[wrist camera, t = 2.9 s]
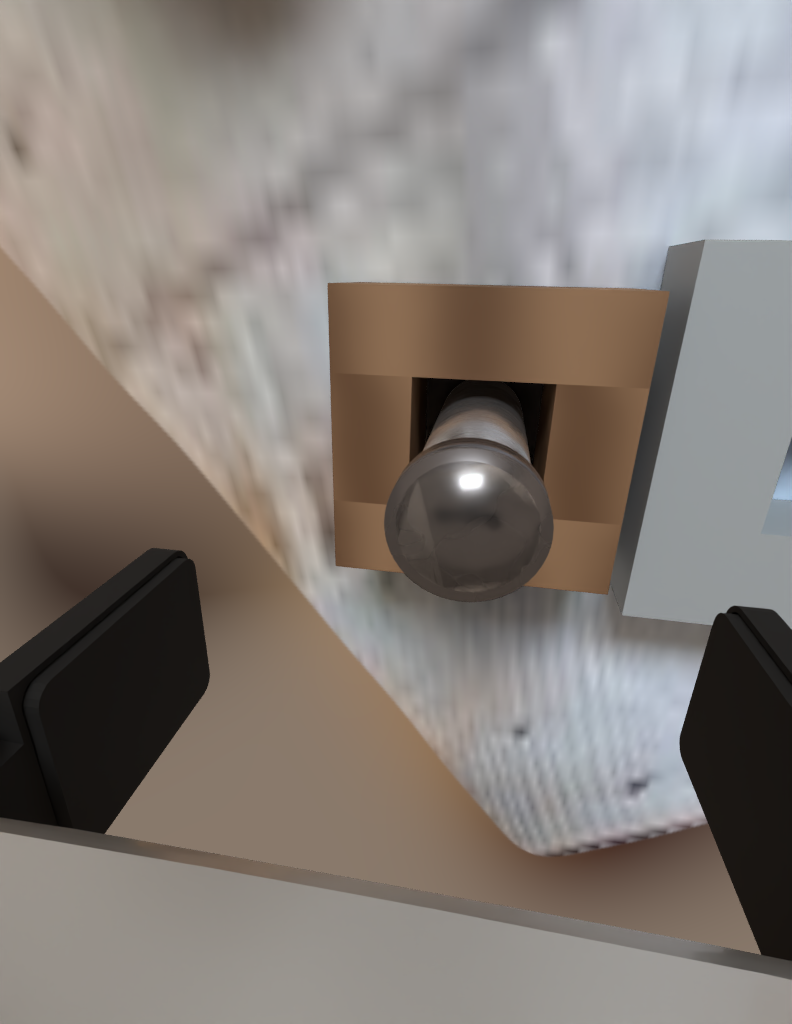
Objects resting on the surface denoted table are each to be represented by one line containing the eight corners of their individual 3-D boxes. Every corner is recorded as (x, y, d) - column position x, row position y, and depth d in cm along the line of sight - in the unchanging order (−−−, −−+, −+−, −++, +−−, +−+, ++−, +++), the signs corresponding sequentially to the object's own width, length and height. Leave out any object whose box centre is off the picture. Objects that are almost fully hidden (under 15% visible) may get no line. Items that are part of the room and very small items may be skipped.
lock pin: (534, 372, 23) (565, 455, 12) (523, 465, 25) (541, 610, 14) (437, 367, 24) (384, 442, 13) (432, 459, 26) (383, 592, 15)
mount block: (633, 288, 21) (669, 291, 17) (588, 538, 26) (607, 594, 21) (361, 282, 23) (327, 283, 18) (362, 518, 27) (335, 565, 23)
